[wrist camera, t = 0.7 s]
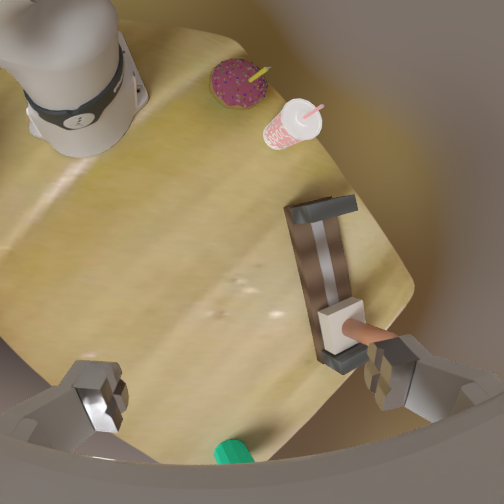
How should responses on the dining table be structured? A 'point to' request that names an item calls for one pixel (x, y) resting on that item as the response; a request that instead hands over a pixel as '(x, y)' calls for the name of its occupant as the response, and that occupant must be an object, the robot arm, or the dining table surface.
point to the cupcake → (238, 84)
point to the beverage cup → (293, 124)
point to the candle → (232, 453)
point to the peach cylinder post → (348, 326)
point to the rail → (324, 269)
